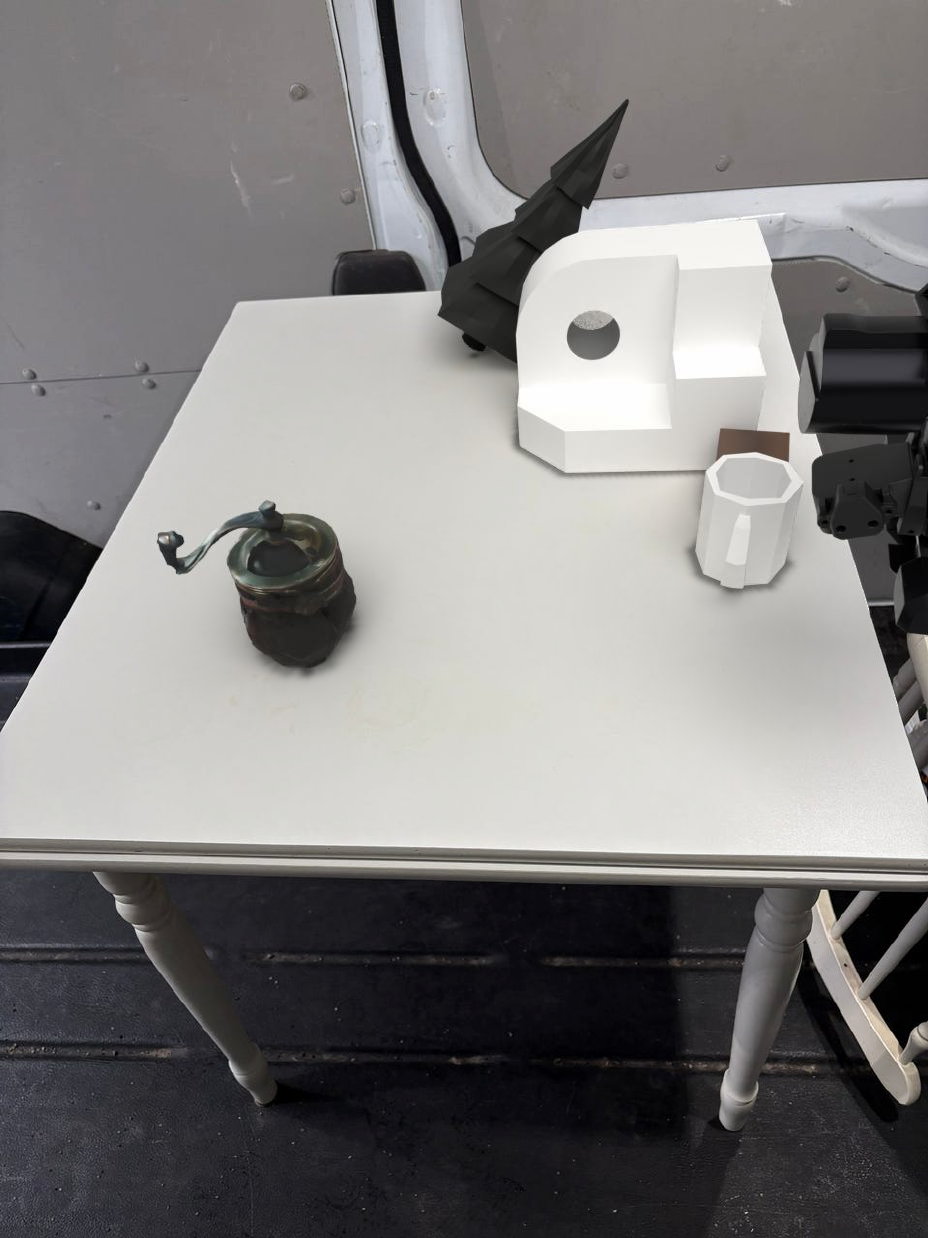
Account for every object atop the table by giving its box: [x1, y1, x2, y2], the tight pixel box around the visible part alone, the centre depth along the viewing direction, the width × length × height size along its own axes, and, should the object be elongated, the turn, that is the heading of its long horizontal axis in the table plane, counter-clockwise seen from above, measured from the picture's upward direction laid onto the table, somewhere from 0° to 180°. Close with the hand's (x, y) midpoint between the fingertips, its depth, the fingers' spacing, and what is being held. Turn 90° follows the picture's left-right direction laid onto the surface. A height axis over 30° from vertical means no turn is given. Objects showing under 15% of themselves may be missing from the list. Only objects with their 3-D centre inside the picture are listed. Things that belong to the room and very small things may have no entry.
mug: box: [694, 452, 805, 590], centre depth 78 cm, size 12×9×10 cm
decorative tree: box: [436, 98, 630, 365], centre depth 106 cm, size 15×15×35 cm
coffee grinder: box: [156, 499, 358, 668], centre depth 74 cm, size 13×15×18 cm
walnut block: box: [716, 428, 791, 463], centre depth 88 cm, size 7×7×6 cm
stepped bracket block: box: [516, 218, 773, 474], centre depth 93 cm, size 26×17×20 cm, turn 84°
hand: (907, 614), depth 60 cm, fingers closed
